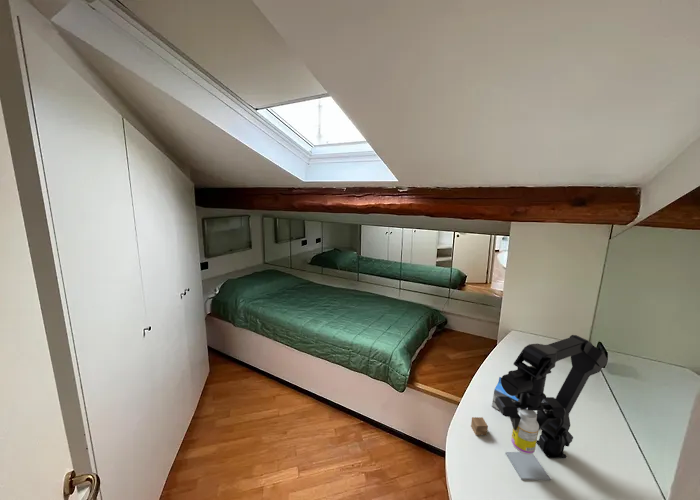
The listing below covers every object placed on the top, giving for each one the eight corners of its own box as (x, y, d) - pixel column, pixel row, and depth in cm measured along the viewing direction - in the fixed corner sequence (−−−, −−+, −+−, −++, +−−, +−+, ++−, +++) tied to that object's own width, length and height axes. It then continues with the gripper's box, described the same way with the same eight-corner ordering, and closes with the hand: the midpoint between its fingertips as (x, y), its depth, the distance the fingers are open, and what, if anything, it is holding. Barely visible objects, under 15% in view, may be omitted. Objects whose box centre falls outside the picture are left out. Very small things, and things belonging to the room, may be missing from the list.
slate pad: (531, 453, 98) (532, 452, 97) (550, 479, 89) (550, 478, 89) (505, 453, 97) (505, 451, 97) (521, 479, 89) (521, 478, 88)
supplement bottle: (513, 434, 97) (518, 401, 95) (536, 445, 93) (542, 411, 90) (508, 447, 93) (513, 412, 90) (532, 460, 88) (538, 424, 86)
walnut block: (481, 426, 108) (482, 417, 108) (486, 435, 104) (487, 426, 104) (470, 426, 108) (472, 417, 107) (475, 435, 104) (476, 426, 104)
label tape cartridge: (491, 406, 118) (495, 380, 116) (495, 402, 121) (498, 376, 118) (514, 419, 112) (519, 391, 109) (518, 414, 115) (522, 387, 112)
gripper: (546, 370, 96) (539, 410, 99) (489, 369, 96) (484, 409, 99) (570, 393, 85) (561, 438, 88) (507, 392, 85) (500, 437, 89)
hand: (525, 429), depth 92 cm, fingers closed on supplement bottle, 7 cm apart
